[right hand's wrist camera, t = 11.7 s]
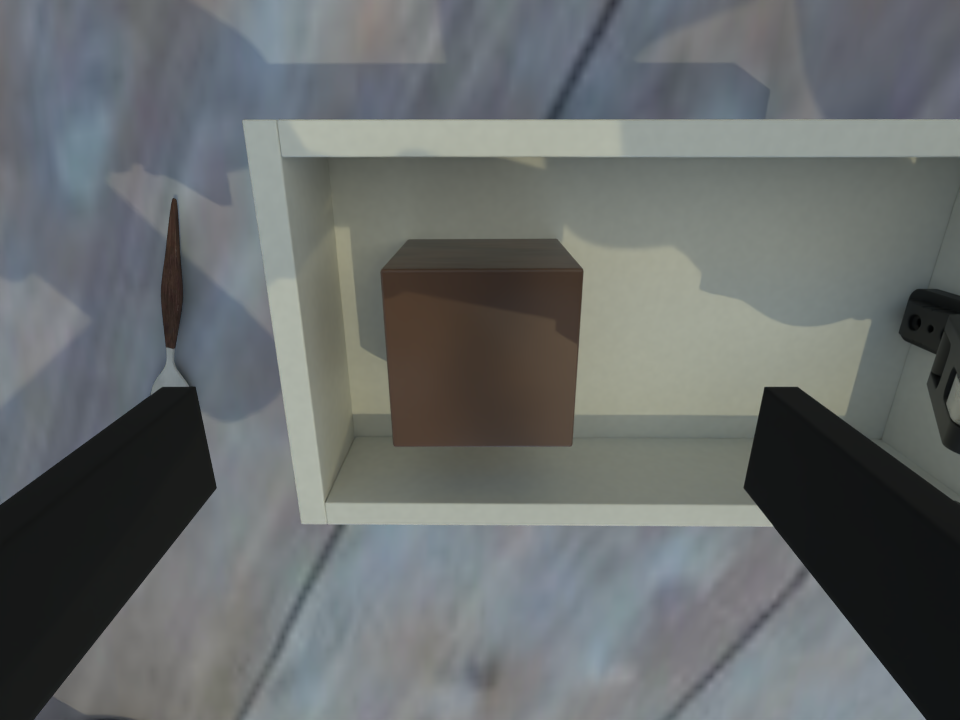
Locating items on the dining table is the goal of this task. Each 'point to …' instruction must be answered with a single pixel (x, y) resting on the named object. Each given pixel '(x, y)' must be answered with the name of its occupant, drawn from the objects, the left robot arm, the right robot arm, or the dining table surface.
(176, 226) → the fork
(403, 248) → the walnut block
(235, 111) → the dining table surface
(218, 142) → the dining table surface
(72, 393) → the dining table surface
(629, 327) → the bin
